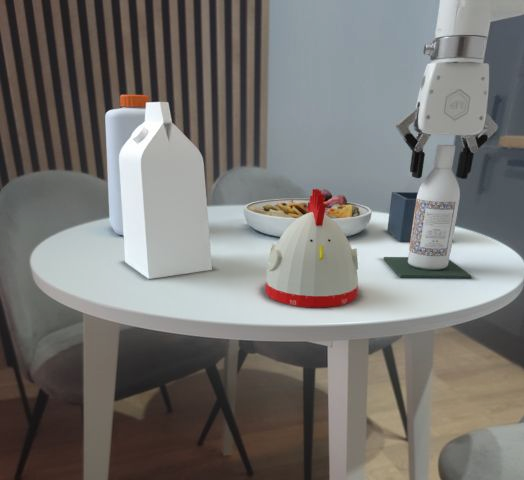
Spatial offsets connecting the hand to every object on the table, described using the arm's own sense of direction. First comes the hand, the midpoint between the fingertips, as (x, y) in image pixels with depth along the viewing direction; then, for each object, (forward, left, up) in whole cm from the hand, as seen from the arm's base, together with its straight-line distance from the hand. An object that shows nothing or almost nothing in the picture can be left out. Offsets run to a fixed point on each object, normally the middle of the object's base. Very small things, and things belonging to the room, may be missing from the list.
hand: (439, 176), depth 83 cm
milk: (+46, 0, -16) cm, 49 cm away
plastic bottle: (+56, -31, -16) cm, 66 cm away
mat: (0, 0, -16) cm, 16 cm away
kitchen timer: (+22, +14, -16) cm, 31 cm away
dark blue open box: (-7, -27, -16) cm, 32 cm away
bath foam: (0, 0, -15) cm, 15 cm away
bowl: (+18, -34, -16) cm, 42 cm away
